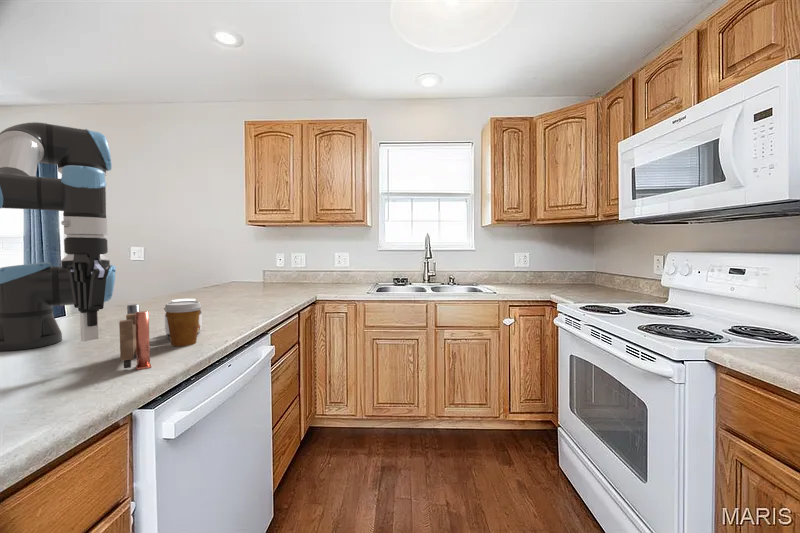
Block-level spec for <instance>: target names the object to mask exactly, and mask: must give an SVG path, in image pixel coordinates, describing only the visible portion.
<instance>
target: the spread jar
mask: <svg viewBox="0 0 800 533" xmlns="http://www.w3.org/2000/svg"><path fill="white" fill-rule="evenodd" d="M178 301H197V300H196V298H179V299H178V298H177V299H176V298H175V299H172V300H170V302H178ZM202 327H203V316H202V309H200V315H199V323H198V332H197V336H198V335H199V334H200V333H201V330H202ZM164 331H165V334H166V336H167V337H169V338H170V333H169V327H168V321H167V315H166V313H165V315H164Z"/></svg>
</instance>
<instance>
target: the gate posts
mask: <svg viewBox="0 0 800 533" xmlns="http://www.w3.org/2000/svg"><path fill="white" fill-rule="evenodd" d="M126 307H127V308H126V309H127V313H126V315H127V314H134V313H135V324H136V355H134V357H136V365H135V368H136V371H137V370H143V369H144V370H146V369H151V368H152V364H151V353H150V352H151V346H150V345H151V344H150V314H149V311H147V310H142V311H141V310H140V309H141V308H140V304H128V305H127V306H126Z"/></svg>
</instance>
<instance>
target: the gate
mask: <svg viewBox="0 0 800 533" xmlns="http://www.w3.org/2000/svg"><path fill="white" fill-rule="evenodd" d="M125 317H126V318H125V319H123V320H122V319H121V320H120V321H119V322H118V323H119V324H118V325H119V327H118V328H119V349H120V350H119V355H120V361H121V362H123V369H129V368H132V360H133V359H134V357H135V356H134V355H136V324H135V313H134V314H127V313H126V316H125Z"/></svg>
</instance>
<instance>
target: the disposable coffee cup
mask: <svg viewBox="0 0 800 533" xmlns="http://www.w3.org/2000/svg"><path fill="white" fill-rule="evenodd" d="M163 310H164V312H165V314H166V315H167V321H168V327H169V333H170V337H169V339H170V343H171V346H172V347H187V346H186V345H188V346H192V345H195V344H197V338H198V335H197V332H198V323H199V315H200V310H202V304H201V302H200V301H197V300H196V301H178V302H171V301H170V302H167V303H165V306H164V308H163Z"/></svg>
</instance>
